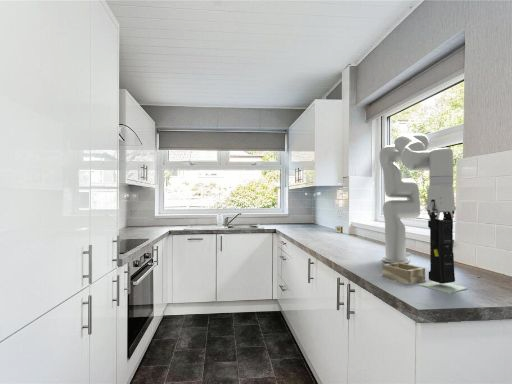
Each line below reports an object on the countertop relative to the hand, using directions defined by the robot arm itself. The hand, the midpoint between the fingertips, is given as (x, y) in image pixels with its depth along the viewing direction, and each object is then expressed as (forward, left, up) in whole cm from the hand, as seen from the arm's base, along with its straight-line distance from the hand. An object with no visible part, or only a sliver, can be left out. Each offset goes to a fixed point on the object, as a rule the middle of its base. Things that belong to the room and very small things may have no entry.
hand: (441, 229), depth 109 cm
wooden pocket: (+3, -14, -21) cm, 26 cm away
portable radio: (+1, 0, -20) cm, 20 cm away
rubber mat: (0, 0, -21) cm, 21 cm away
